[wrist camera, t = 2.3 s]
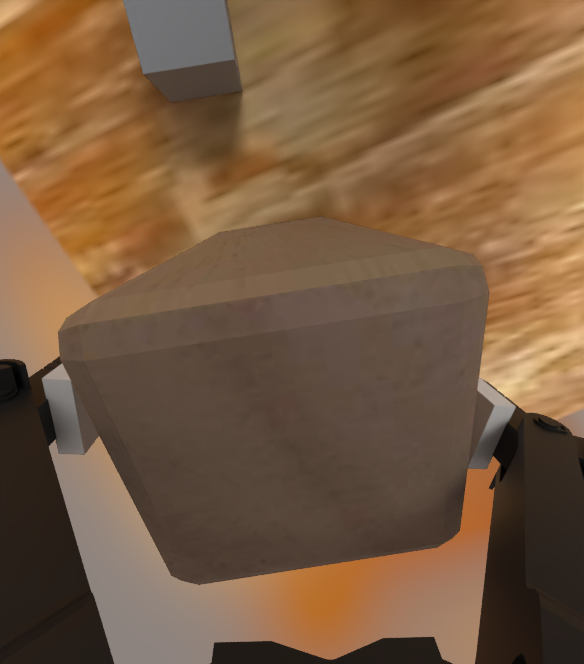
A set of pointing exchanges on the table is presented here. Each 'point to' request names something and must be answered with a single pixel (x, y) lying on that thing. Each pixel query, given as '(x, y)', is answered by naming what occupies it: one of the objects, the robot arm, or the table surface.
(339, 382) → the block
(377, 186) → the table surface
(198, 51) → the slate cube
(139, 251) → the table surface
